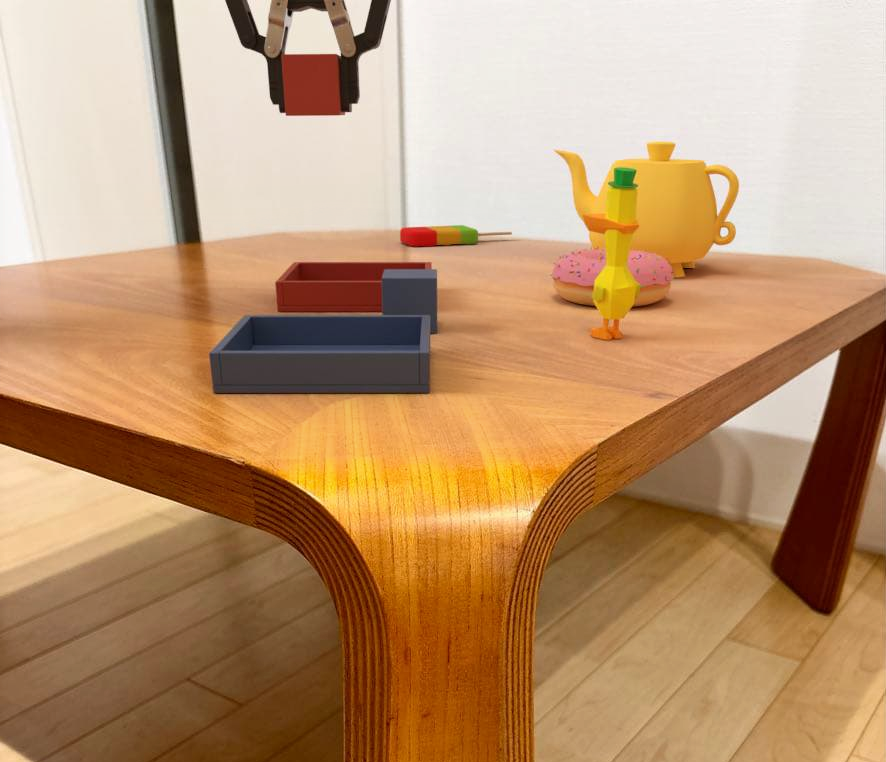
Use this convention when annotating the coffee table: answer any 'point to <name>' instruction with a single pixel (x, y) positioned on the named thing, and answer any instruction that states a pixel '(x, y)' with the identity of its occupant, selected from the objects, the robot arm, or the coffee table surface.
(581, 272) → the doughnut
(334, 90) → the red block
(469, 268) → the coffee table surface
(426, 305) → the blue block
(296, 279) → the red tray
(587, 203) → the teapot
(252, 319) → the blue tray
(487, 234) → the popsicle
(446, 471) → the coffee table surface
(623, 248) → the toy figure
